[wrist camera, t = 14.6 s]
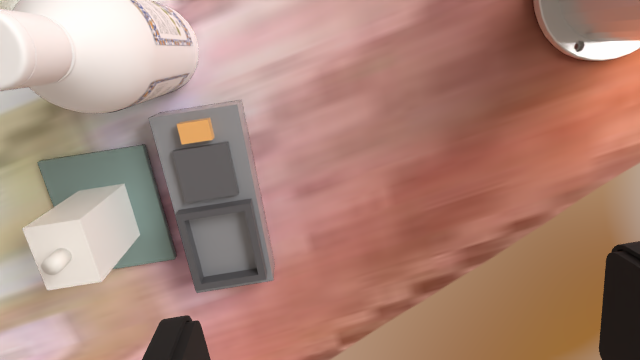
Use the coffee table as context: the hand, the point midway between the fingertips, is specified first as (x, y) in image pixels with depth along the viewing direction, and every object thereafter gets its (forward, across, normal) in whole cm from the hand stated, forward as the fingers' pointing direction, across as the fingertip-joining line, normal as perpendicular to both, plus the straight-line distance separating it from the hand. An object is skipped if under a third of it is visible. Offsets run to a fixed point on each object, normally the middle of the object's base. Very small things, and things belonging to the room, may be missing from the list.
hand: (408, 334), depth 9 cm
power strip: (+28, +10, +5) cm, 30 cm away
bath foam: (+28, +12, -8) cm, 32 cm away
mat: (+28, +20, +5) cm, 35 cm away
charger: (+28, +20, +5) cm, 34 cm away
